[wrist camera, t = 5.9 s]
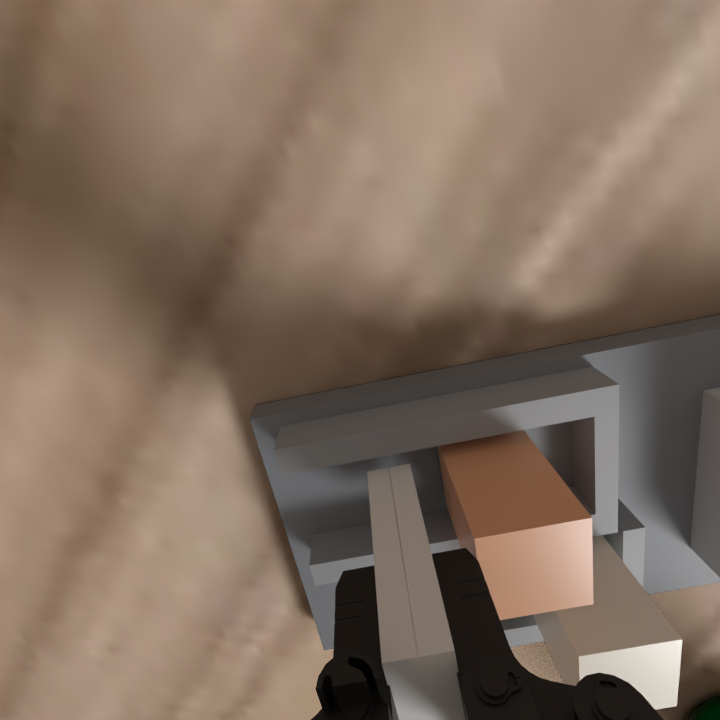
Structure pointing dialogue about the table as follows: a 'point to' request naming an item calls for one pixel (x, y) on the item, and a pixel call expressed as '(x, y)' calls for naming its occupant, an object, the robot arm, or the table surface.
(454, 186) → the table surface
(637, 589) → the knob cream
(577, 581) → the knob terracotta
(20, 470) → the table surface
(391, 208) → the table surface
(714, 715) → the soda can
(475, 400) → the panel
